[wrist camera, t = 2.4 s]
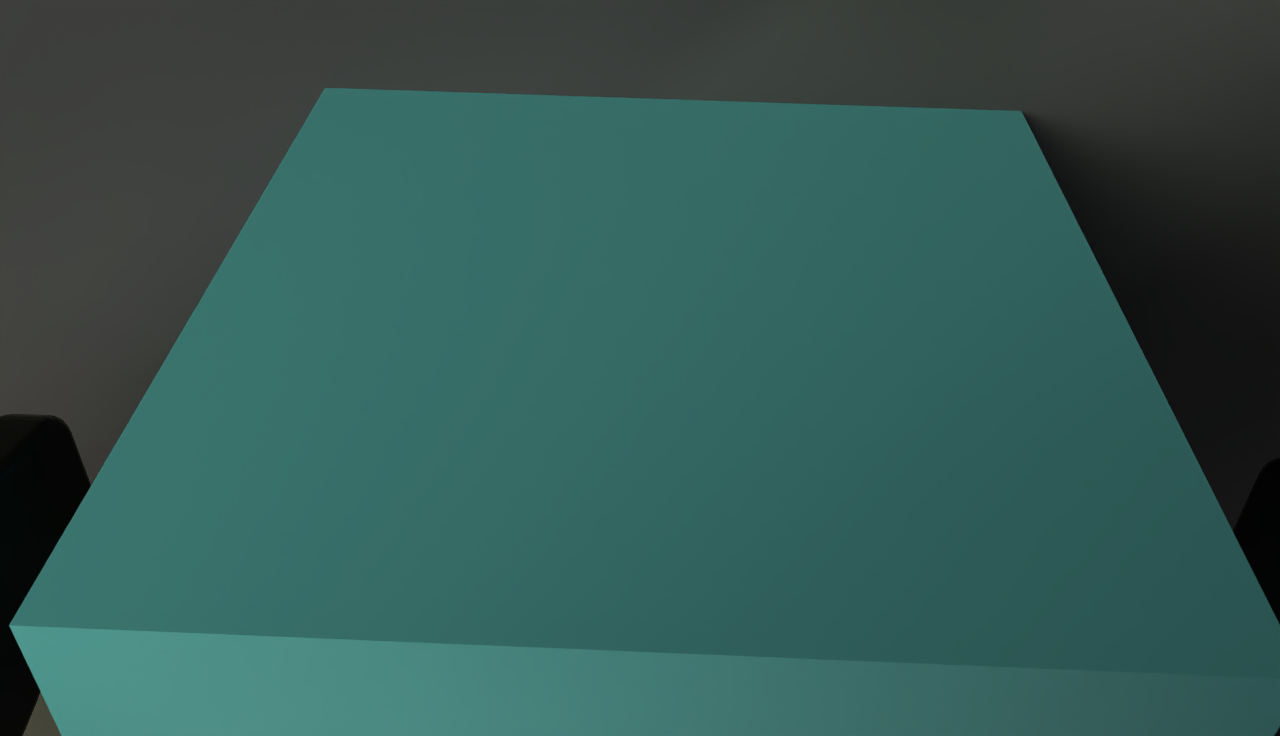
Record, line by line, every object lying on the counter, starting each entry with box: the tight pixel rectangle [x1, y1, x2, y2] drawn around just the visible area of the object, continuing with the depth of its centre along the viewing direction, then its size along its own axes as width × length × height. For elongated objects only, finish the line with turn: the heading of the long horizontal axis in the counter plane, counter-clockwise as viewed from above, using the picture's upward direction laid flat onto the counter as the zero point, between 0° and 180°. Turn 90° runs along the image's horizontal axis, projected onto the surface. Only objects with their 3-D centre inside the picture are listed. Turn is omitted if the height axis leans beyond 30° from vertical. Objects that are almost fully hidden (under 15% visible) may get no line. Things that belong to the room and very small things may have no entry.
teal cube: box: [9, 88, 1280, 736], centre depth 8 cm, size 5×5×5 cm
